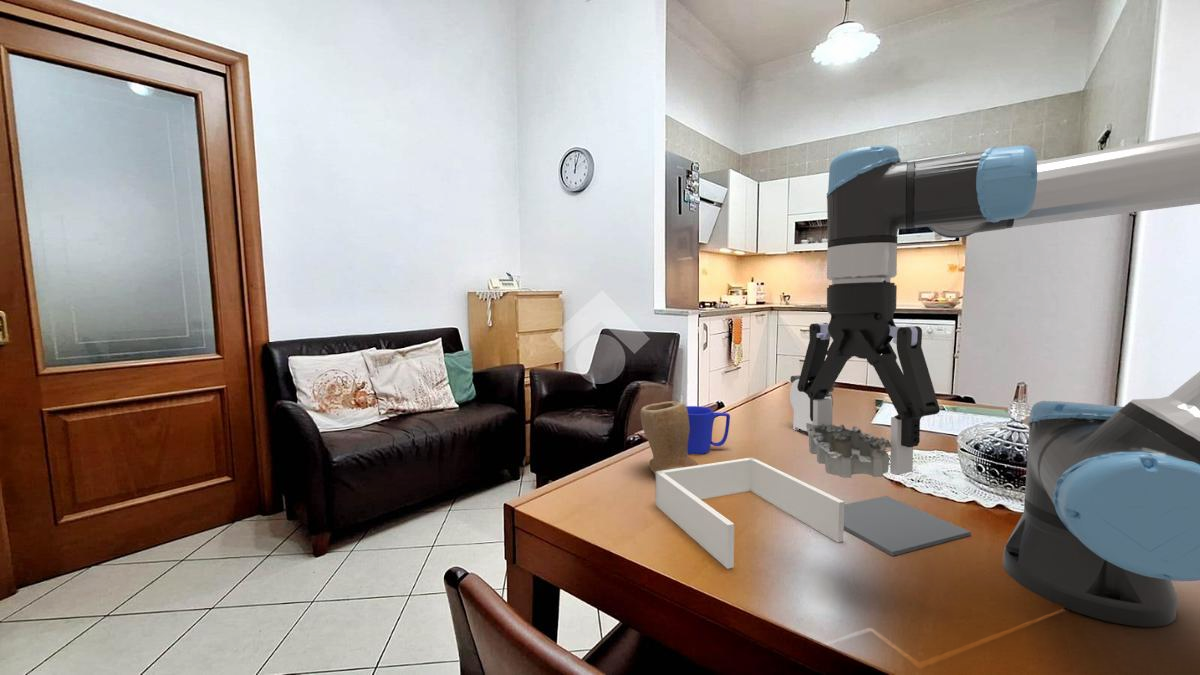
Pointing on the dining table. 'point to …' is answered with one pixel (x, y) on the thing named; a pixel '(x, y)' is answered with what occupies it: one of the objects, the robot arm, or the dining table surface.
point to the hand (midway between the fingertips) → (858, 458)
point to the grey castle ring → (848, 450)
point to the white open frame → (711, 529)
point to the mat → (897, 525)
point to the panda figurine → (801, 405)
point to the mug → (703, 429)
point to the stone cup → (667, 435)
